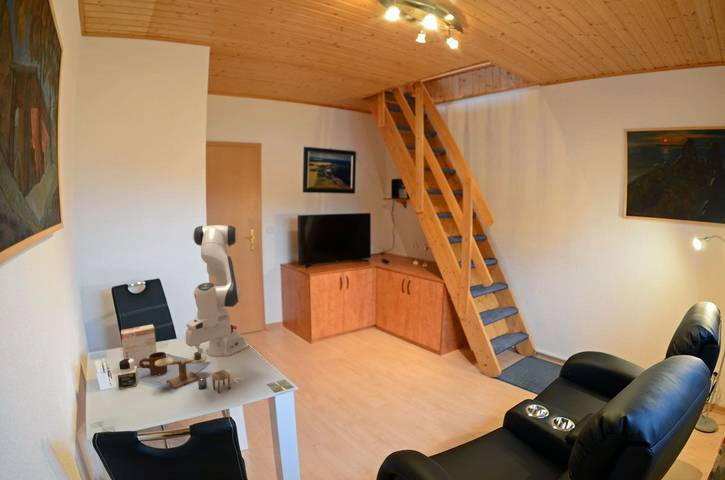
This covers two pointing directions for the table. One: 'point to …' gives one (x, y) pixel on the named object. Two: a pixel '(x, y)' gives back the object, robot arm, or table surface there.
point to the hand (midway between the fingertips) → (210, 349)
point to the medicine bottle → (127, 374)
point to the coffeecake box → (138, 343)
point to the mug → (152, 359)
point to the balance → (182, 370)
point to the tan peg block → (221, 379)
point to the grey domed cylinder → (202, 383)
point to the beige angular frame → (237, 379)
